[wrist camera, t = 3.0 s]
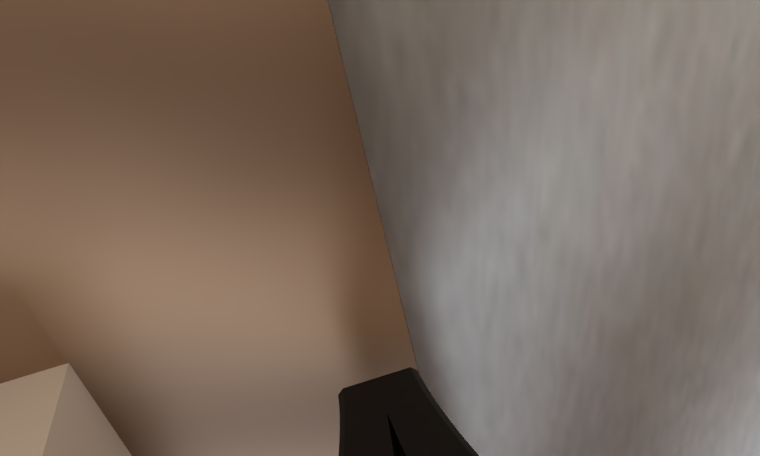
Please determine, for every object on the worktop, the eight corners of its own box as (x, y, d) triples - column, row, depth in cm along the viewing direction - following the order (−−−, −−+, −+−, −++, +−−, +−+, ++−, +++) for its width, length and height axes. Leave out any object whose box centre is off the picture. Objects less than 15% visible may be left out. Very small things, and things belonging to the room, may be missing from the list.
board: (454, 536, 17) (469, 579, 16) (-18, 697, 16) (-33, 753, 15) (295, -100, 9) (305, -92, 8) (-738, 167, 8) (-881, 215, 7)
